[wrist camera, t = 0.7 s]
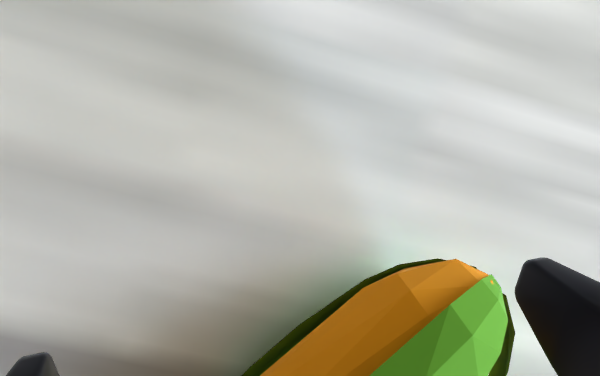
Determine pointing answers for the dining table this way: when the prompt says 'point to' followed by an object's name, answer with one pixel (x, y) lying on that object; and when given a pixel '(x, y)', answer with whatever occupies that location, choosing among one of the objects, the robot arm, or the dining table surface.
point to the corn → (403, 327)
